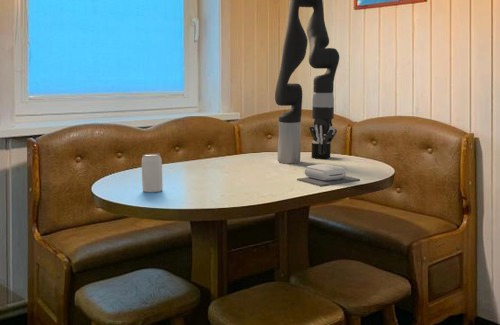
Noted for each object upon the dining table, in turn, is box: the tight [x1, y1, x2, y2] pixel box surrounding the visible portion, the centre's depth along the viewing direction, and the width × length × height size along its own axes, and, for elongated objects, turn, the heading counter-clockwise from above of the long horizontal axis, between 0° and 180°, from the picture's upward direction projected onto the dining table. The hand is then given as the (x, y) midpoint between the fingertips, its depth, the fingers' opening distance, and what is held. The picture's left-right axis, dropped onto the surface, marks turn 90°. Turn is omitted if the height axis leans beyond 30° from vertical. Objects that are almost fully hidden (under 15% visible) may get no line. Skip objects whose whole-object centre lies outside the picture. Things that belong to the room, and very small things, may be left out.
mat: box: [296, 175, 361, 187], centre depth 196 cm, size 13×18×1 cm
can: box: [141, 152, 164, 193], centre depth 179 cm, size 6×6×12 cm
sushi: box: [310, 140, 332, 160], centre depth 246 cm, size 8×8×8 cm
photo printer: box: [304, 163, 347, 181], centre depth 197 cm, size 10×4×12 cm
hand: (322, 154), depth 197 cm, fingers closed
